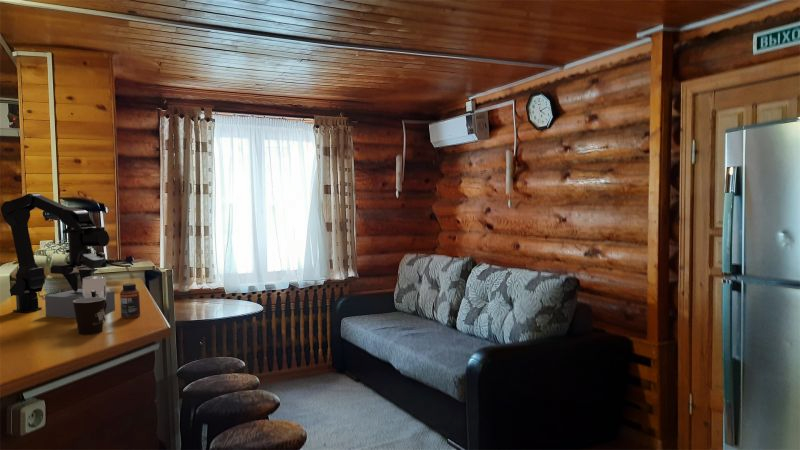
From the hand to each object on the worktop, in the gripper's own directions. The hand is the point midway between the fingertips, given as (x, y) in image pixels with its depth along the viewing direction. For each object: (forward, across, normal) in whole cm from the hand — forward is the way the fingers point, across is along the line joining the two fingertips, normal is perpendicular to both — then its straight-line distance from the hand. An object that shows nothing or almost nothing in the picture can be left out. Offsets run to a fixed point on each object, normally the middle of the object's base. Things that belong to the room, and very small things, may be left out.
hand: (80, 290), depth 200 cm
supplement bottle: (+8, 0, -21) cm, 23 cm away
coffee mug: (+8, -19, -24) cm, 32 cm away
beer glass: (+8, -10, -16) cm, 21 cm away
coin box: (+8, 0, 0) cm, 8 cm away
